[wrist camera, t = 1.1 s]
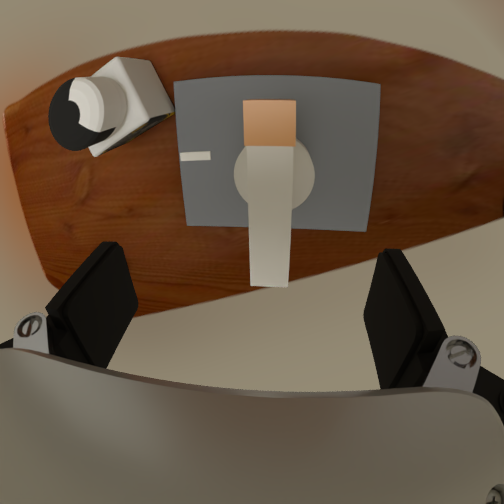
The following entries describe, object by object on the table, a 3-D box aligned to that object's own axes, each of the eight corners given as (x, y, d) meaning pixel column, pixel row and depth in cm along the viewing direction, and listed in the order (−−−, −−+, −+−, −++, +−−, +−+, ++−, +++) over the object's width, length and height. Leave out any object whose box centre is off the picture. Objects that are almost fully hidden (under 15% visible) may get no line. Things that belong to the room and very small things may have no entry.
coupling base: (376, 84, 24) (396, 83, 18) (363, 225, 32) (376, 252, 27) (178, 82, 26) (155, 81, 20) (190, 220, 34) (174, 245, 29)
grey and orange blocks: (237, 98, 21) (209, 101, 13) (313, 99, 20) (330, 102, 13) (241, 224, 27) (222, 285, 19) (308, 226, 26) (315, 289, 18)
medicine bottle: (127, 143, 30) (61, 175, 19) (102, 93, 26) (29, 107, 16) (177, 112, 27) (119, 129, 17) (150, 59, 24) (82, 52, 14)
